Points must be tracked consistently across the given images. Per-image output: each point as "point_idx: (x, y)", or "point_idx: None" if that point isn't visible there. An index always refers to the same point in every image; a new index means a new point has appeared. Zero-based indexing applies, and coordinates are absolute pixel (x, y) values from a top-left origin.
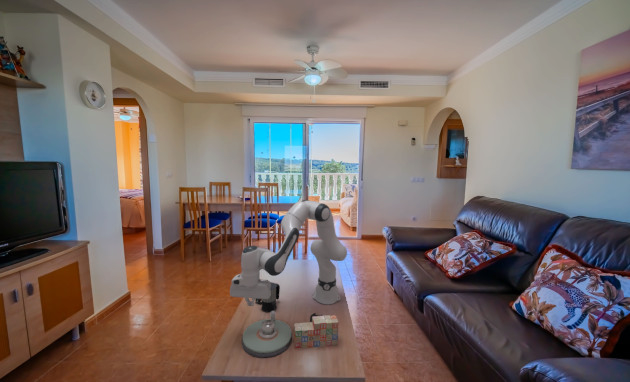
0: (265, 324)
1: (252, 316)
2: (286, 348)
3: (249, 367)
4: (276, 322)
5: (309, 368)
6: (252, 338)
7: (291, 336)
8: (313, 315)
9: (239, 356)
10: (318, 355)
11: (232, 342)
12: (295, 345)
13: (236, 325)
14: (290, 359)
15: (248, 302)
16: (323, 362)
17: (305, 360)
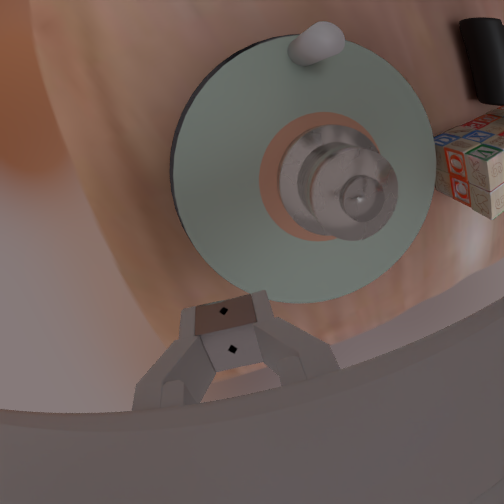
0: (344, 212)
1: (115, 22)
2: None
3: (307, 330)
4: (334, 63)
5: (470, 256)
6: (263, 249)
7: None
8: (498, 36)
9: None
10: None
11: (152, 256)
12: (445, 193)
13: (77, 136)
14: (428, 246)
15: (214, 371)
16: (497, 221)
17: (464, 232)
